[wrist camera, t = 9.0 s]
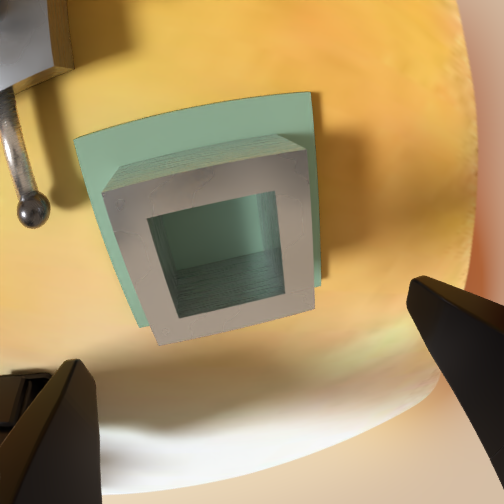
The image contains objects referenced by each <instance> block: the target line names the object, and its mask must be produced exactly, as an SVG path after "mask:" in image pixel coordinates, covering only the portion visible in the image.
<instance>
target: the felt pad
mask: <svg viewBox="0 0 504 504" xmlns="http://www.w3.org/2000/svg"><path fill="white" fill-rule="evenodd" d="M271 134H277V135H279V136H281V137H284V138H286V139H288V140H290V141H292V142H293V143H295V144H297V145H299V146H301V147H303V148H305V149H307V157H308V170H309V184H310V199H311V216H312V236H313V260H314V287H318V286H321V251H320V219H319V197H318V178H317V162H316V148H315V135H314V123H313V112H312V102H311V92H296V93H285V94H275V95H266V96H258V97H251V98H243V99H237V100H230V101H224V102H218V103H212V104H207V105H201V106H196V107H191V108H186V109H181V110H176V111H172V112H167V113H163V114H159V115H155V116H150V117H146V118H142V119H139V120H135V121H131V122H127V123H124V124H120V125H117V126H113V127H110V128H106V129H103V130H100V131H96V132H93V133H90V134H87V135H84V136H81V137H78V138H76V139H74V140H73V141H74V145H75V149H76V152H77V156H78V160H79V164H80V167H81V171H82V175H83V178H84V182H85V185H86V188H87V192H88V195H89V198H90V201H91V204H92V208H93V211H94V214H95V217H96V220H97V223H98V226H99V229H100V231H101V234H102V237H103V240H104V243H105V246H106V248H107V251H108V254H109V256H110V259H111V262H112V264H113V267H114V269H115V272H116V274H117V277H118V279H119V282H120V284H121V287H122V289H123V292H124V294H125V296H126V299H127V301H128V303H129V306H130V308H131V310H132V313H133V315H134V317H135V319H136V322H137V324H138V326H139V328H141V327H146V326H150V325H149V323H148V320H147V318H146V316H145V313H144V311H143V309H142V306H141V304H140V301H139V299H138V296H137V294H136V291H135V289H134V286H133V284H132V281H131V279H130V276H129V273H128V271H127V268H126V266H125V263H124V260H123V257H122V255H121V252H120V249H119V246H118V243H117V240H116V238H115V235H114V232H113V229H112V226H111V223H110V220H109V217H108V213H107V210H106V207H105V204H104V201H103V197H102V194H101V192H102V191H103V189H104V188H105V186H106V185H107V184H108V182H109V181H110V179H111V178H112V176H113V175H114V174H115V172H116V171H117V169H118V168H119V167H120V166H123V165H127V164H131V163H135V162H138V161H142V160H146V159H150V158H154V157H158V156H162V155H167V154H171V153H175V152H180V151H184V150H189V149H193V148H198V147H203V146H208V145H213V144H218V143H223V142H229V141H234V140H240V139H246V138H252V137H258V136H264V135H271ZM161 217H162V221H163V225H164V228H165V232H166V235H167V239H168V243H169V246H170V250H171V253H172V256H173V260H174V263H175V267H176V270H182V269H186V268H190V267H195V266H199V265H204V264H208V263H212V262H217V261H221V260H226V259H230V258H234V257H239V256H243V255H248V254H252V253H256V252H261V251H263V244H262V237H261V229H260V222H259V214H258V207H257V200H256V194H255V195H250V196H245V197H240V198H235V199H230V200H225V201H221V202H216V203H211V204H207V205H202V206H198V207H193V208H189V209H184V210H180V211H176V212H171V213H167V214H163V215H161Z"/></svg>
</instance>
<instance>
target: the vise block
mask: <svg viewBox="0 0 504 504" xmlns="http://www.w3.org/2000/svg"><path fill="white" fill-rule="evenodd" d="M74 69H75V67H74V61H73V54H72V47H71V40H70V31H69V22H68V12H67V1H66V0H0V138H1V142H2V146H3V150H4V154H5V158H6V161H7V165H8V168H9V172H10V175H11V178H12V181H13V185H14V188H15V191H16V194H17V197H18V200H19V202H18V205H17V216H18V219H19V221H20V222H21V223H22V224H23V225H24V226H25V227H27V228H31V229H35V228H39V227H41V226H42V225H44V224H45V223H46V221H47V220H48V218H49V215H50V203H49V200H48V198H47V197H46V196H45V195H44V194H43V193H41V192H39V190H38V187H37V184H36V181H35V178H34V174H33V171H32V168H31V164H30V161H29V157H28V153H27V149H26V146H25V142H24V138H23V133H22V129H21V125H20V120H19V116H18V111H17V106H16V101H15V94H17V93H19V92H21V91H23V90H25V89H28V88H30V87H32V86H34V85H36V84H39V83H41V82H43V81H46V80H48V79H51V78H53V77H55V76H58V75H61V74H63V73H66V72H68V71H71V70H74Z"/></svg>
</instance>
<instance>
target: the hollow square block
mask: <svg viewBox="0 0 504 504" xmlns="http://www.w3.org/2000/svg"><path fill="white" fill-rule="evenodd" d="M101 194H102V197H103V201H104V204H105V207H106V210H107V213H108V217H109V220H110V223H111V226H112V229H113V232H114V235H115V238H116V240H117V243H118V246H119V249H120V252H121V255H122V257H123V260H124V263H125V266H126V268H127V271H128V273H129V276H130V279H131V281H132V284H133V286H134V289H135V291H136V294H137V296H138V299H139V301H140V304H141V306H142V309H143V311H144V313H145V316H146V318H147V320H148V323H149V325H150V327H151V330H152V332H153V334H154V336H155V338H156V341H157V343H158V345H159V346H161V345H166V344H171V343H176V342H181V341H186V340H190V339H195V338H200V337H204V336H209V335H213V334H218V333H222V332H226V331H231V330H235V329H239V328H243V327H247V326H252V325H256V324H260V323H264V322H268V321H271V320H275V319H279V318H283V317H287V316H291V315H294V314H298V313H302V312H305V311H309V310H312V309H315V296H314V260H313V236H312V216H311V199H310V184H309V170H308V157H307V149H305V148H303V147H301V146H299V145H297V144H295V143H293V142H292V141H290V140H288V139H286V138H284V137H281V136H279V135H277V134H271V135H264V136H258V137H252V138H246V139H240V140H234V141H229V142H223V143H218V144H213V145H208V146H203V147H198V148H193V149H189V150H184V151H180V152H175V153H171V154H167V155H162V156H158V157H154V158H150V159H146V160H142V161H138V162H135V163H131V164H127V165H123V166H120V167H119V168H118V169H117V171H116V172H115V174H114V175H113V176H112V178H111V179H110V181H109V182H108V184H107V185H106V186H105V188H104V189H103V191H102V192H101ZM255 194H256V200H257V207H258V214H259V222H260V229H261V237H262V244H263V251H261V252H256V253H252V254H248V255H243V256H239V257H234V258H230V259H226V260H221V261H217V262H212V263H208V264H204V265H199V266H195V267H190V268H186V269H182V270H176V267H175V263H174V260H173V256H172V253H171V250H170V246H169V243H168V239H167V235H166V232H165V228H164V225H163V221H162V217H161V215H163V214H167V213H171V212H176V211H180V210H184V209H189V208H193V207H198V206H202V205H207V204H211V203H216V202H221V201H225V200H230V199H235V198H240V197H245V196H250V195H255Z"/></svg>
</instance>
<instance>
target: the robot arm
mask: <svg viewBox="0 0 504 504" xmlns="http://www.w3.org/2000/svg"><path fill="white" fill-rule="evenodd" d="M406 305H407V309H408V311H409V313H410V315H411V317H412V319H413V321H414V323H415V325H416V327H417V329H418V331H419V333H420V335H421V337H422V339H423V341H424V343H425V345H426V346H427V348H428V350H429V352H430V354H431V355H432V357H433V359H434V360H435V362H436V364H437V365H438V367H439V368H440V370H441V372H442V373H443V375H444V376H445V378H446V380H447V382H448V383H449V385H450V387H451V388H452V390H453V391H454V394H455V395H456V397H457V399H458V400H459V402H460V404H461V406H462V407H463V409H464V411H465V413H466V415H467V416H468V418H469V420H470V422H471V424H472V426H473V428H474V429H475V431H476V433H477V435H478V437H479V439H480V441H481V443H482V444H483V446H484V449H485V450H486V453H487V454H488V456H489V458H490V461H491V463H492V465H493V467H494V469H495V471H496V473H497V476H498V478H499V480H500V482H501V484H502V486H503V489H504V306H503V305H500V304H498V303H495V302H493V301H490V300H488V299H485V298H483V297H480V296H477V295H475V294H472V293H470V292H467V291H465V290H462V289H459V288H457V287H454V286H452V285H449V284H446V283H444V282H441V281H438V280H436V279H433V278H430V277H428V276H419V277H416V278H414V279H412V280H411V282H410V286H409V291H408V296H407V301H406ZM0 504H102V495H101V476H100V435H99V423H98V412H97V398H96V385H95V381H94V379H93V377H92V376H91V374H90V373H89V371H88V370H87V368H86V367H85V365H84V364H83V362H82V361H81V360H80V359H71V360H66V361H64V363H63V364H62V365H61V366H60V367H59V369H58V370H57V371H56V372H55V374H54V375H53V376H51V375H50V374H47V373H40V374H30V375H19V376H7V377H0Z"/></svg>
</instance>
